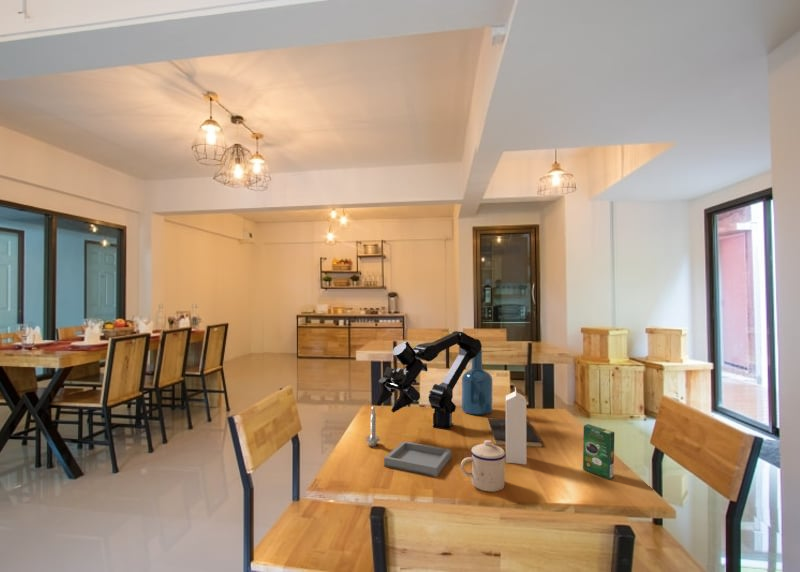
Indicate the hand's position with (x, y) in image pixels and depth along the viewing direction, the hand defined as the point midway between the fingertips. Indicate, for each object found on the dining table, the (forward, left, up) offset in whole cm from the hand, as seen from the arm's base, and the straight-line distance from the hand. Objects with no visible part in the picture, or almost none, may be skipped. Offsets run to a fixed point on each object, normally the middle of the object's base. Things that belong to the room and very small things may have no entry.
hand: (384, 408), depth 136 cm
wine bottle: (-21, -48, -12) cm, 54 cm away
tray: (-17, +10, -11) cm, 23 cm away
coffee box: (-67, -4, -12) cm, 68 cm away
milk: (-44, -4, -12) cm, 45 cm away
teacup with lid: (-38, +16, -12) cm, 43 cm away
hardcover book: (-40, -27, -12) cm, 49 cm away
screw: (+2, +4, -12) cm, 13 cm away
